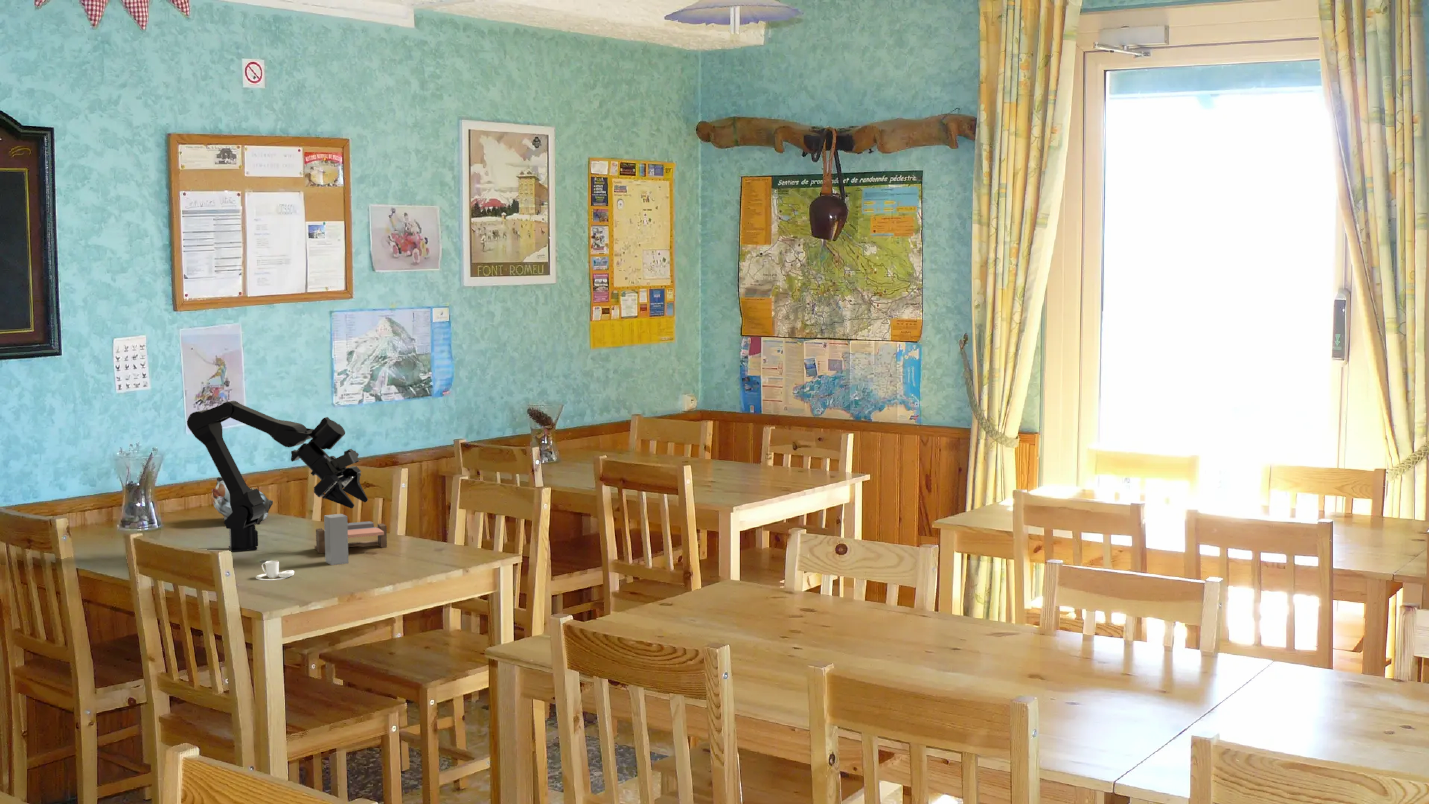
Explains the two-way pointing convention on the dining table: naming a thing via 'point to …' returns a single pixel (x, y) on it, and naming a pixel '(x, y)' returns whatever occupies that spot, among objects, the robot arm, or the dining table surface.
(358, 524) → the pink flat slab
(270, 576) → the teacup and saucer
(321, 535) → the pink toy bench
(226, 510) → the lucky cat figurine
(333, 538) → the stone block
